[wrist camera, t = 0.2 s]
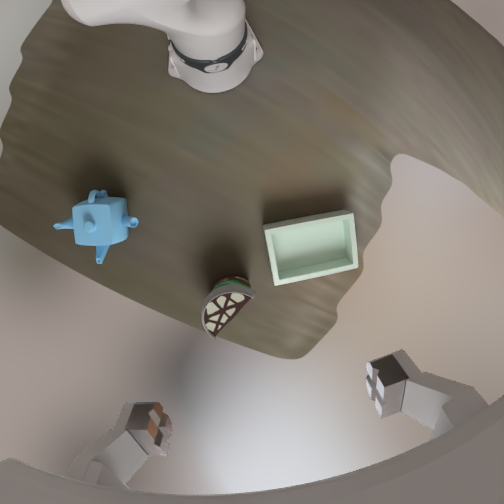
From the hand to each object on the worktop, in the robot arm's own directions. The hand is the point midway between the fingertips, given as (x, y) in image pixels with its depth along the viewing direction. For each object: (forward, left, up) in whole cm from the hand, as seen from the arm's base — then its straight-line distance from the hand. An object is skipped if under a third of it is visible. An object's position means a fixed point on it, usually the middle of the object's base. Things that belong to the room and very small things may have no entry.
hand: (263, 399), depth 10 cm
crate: (+9, +11, -47) cm, 49 cm away
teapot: (-4, -28, -48) cm, 55 cm away
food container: (+15, -8, -48) cm, 51 cm away
